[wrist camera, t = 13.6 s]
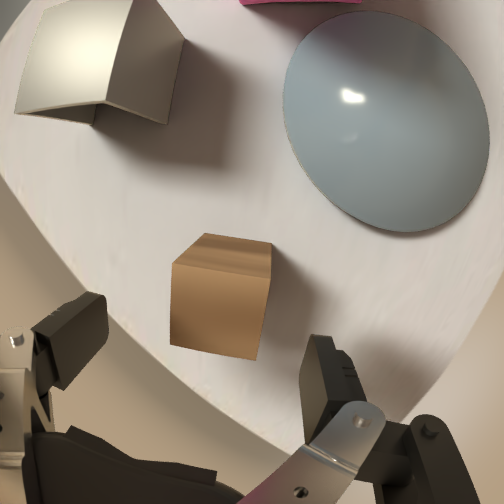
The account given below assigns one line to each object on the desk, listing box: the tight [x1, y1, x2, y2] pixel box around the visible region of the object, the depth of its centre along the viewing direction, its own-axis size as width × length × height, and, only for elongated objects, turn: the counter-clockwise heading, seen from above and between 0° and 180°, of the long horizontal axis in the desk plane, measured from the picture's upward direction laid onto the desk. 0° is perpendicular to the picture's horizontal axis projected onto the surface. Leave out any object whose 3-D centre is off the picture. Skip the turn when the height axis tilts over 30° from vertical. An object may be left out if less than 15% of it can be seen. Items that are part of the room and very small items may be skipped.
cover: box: [14, 0, 185, 125], centre depth 11 cm, size 6×6×7 cm
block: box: [170, 233, 272, 361], centre depth 15 cm, size 4×4×6 cm
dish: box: [283, 11, 490, 232], centre depth 14 cm, size 14×14×1 cm
